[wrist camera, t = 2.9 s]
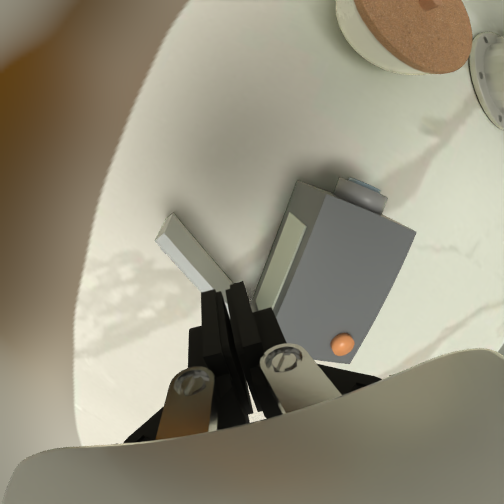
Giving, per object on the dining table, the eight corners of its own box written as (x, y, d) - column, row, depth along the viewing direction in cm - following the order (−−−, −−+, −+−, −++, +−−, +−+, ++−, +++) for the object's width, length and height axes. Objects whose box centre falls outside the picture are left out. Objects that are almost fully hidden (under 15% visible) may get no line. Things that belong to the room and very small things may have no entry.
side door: (162, 221, 24) (150, 245, 18) (173, 212, 24) (164, 234, 18) (240, 310, 28) (249, 349, 22) (251, 303, 28) (262, 341, 22)
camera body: (302, 159, 24) (337, 168, 17) (381, 193, 26) (429, 212, 19) (247, 306, 28) (260, 356, 21) (324, 323, 30) (352, 368, 23)
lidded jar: (330, 84, 22) (392, 63, 13) (305, -22, 18) (346, -75, 9) (428, 85, 23) (499, 79, 14) (404, -10, 19) (462, -39, 10)
